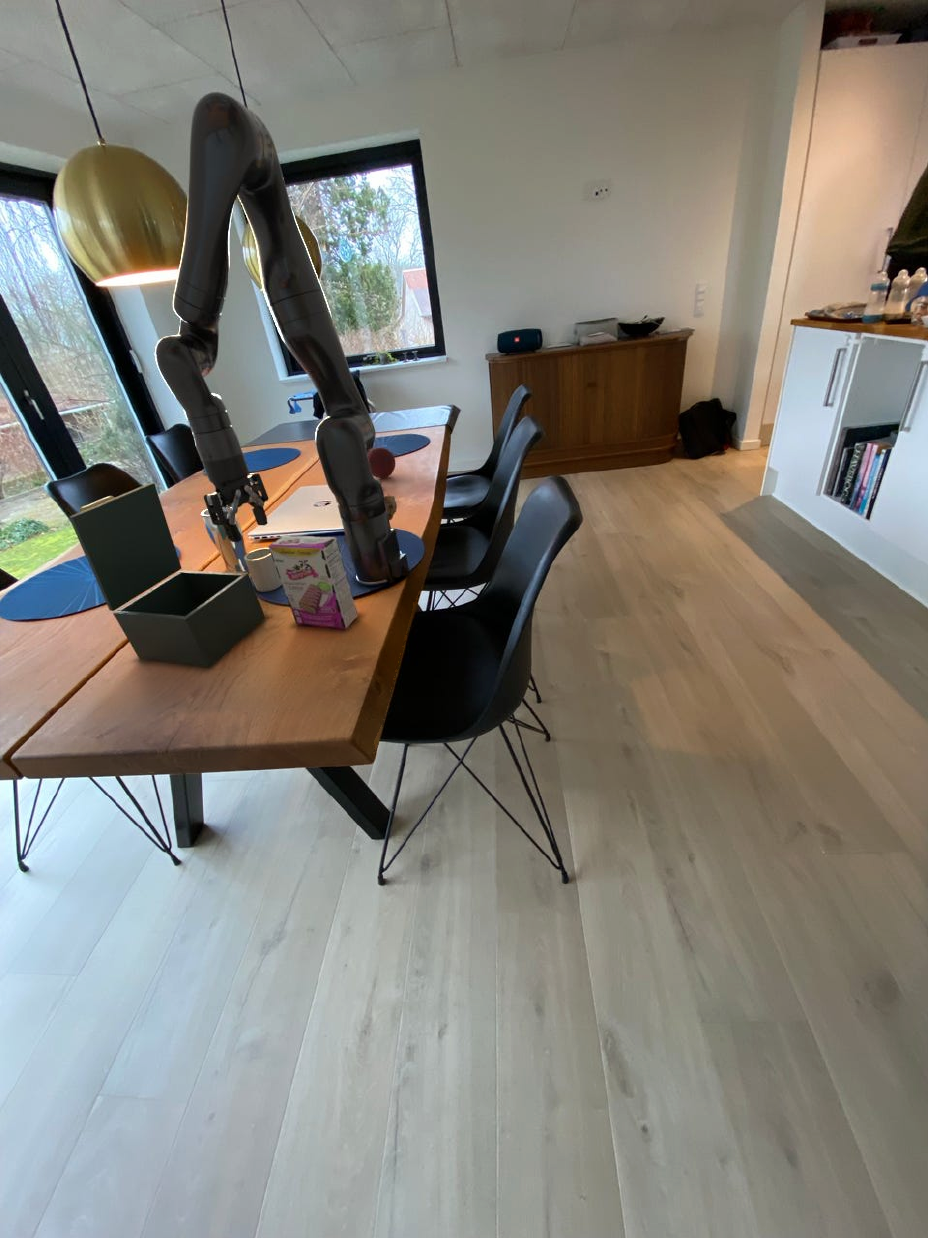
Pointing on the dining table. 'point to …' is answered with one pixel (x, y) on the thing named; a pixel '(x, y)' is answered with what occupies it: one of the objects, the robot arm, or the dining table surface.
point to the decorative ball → (381, 462)
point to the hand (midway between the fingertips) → (250, 532)
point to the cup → (263, 570)
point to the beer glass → (227, 545)
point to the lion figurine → (390, 506)
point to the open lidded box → (191, 617)
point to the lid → (127, 543)
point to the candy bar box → (314, 580)
